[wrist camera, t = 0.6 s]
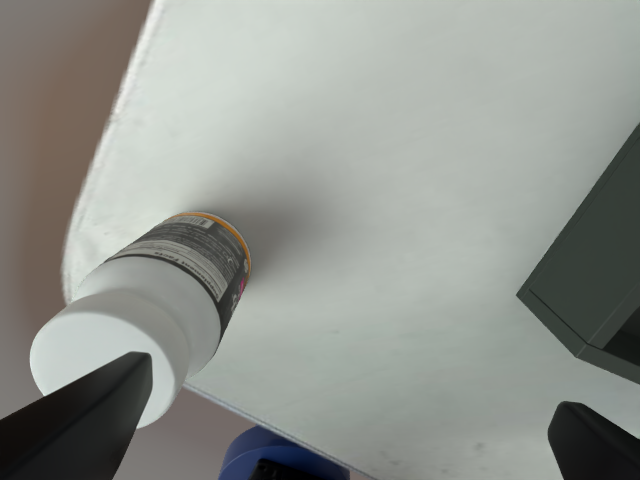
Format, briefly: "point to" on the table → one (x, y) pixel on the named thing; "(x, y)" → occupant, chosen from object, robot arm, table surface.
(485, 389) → the table surface
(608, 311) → the bin
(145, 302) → the pill bottle
